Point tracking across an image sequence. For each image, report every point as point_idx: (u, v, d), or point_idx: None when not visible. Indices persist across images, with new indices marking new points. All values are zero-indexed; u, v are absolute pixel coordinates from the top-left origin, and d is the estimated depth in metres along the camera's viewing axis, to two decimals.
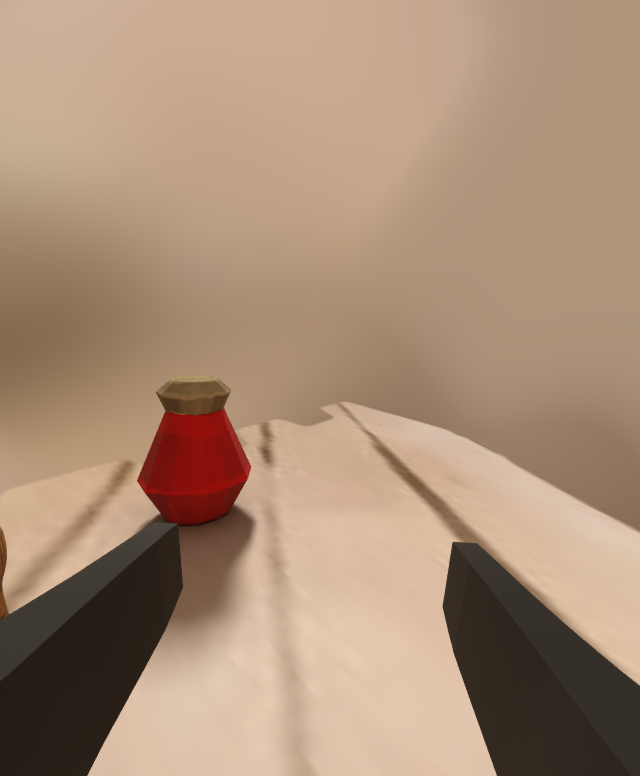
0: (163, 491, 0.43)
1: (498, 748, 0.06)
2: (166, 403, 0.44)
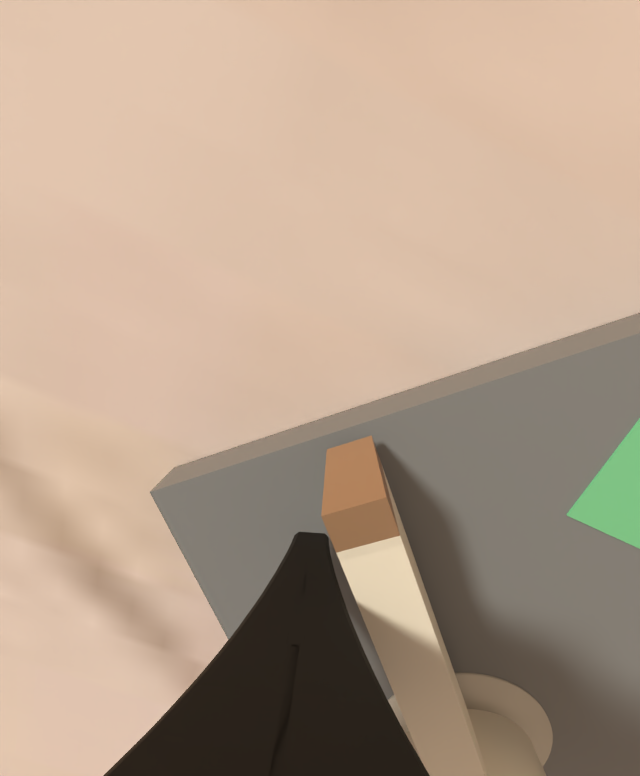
0: None
1: None
2: None
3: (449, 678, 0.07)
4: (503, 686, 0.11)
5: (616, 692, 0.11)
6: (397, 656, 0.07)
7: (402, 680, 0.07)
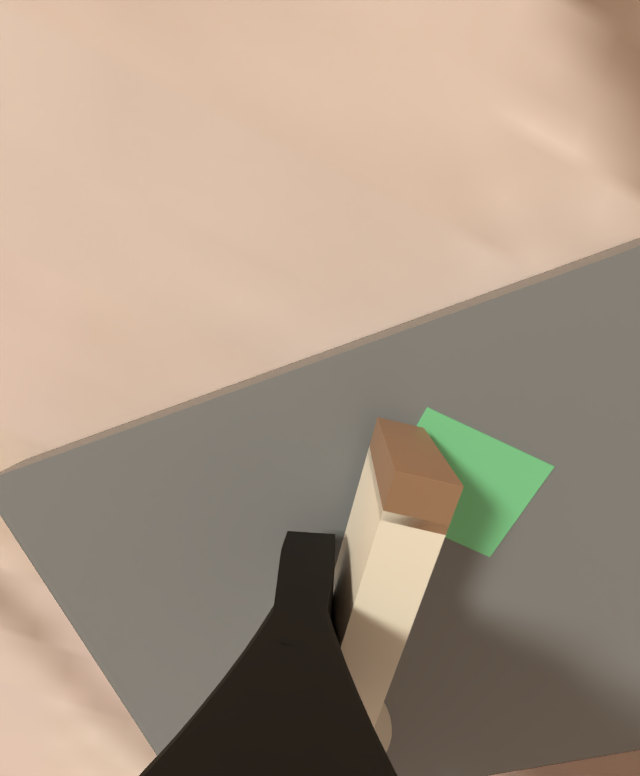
0: None
1: None
2: None
3: (395, 669, 0.07)
4: None
5: (445, 678, 0.11)
6: (365, 629, 0.07)
7: (353, 652, 0.07)
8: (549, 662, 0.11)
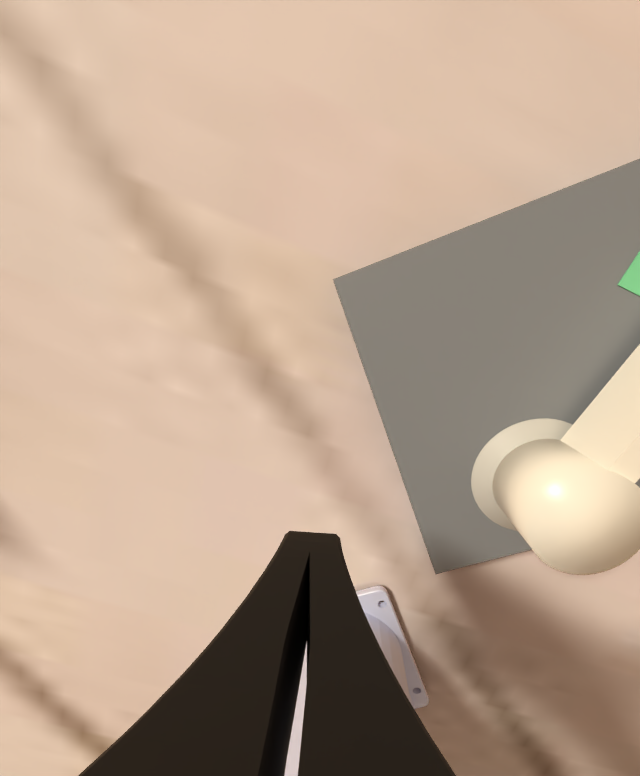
0: None
1: None
2: None
3: None
4: (568, 427, 0.16)
5: None
6: None
7: None
8: None
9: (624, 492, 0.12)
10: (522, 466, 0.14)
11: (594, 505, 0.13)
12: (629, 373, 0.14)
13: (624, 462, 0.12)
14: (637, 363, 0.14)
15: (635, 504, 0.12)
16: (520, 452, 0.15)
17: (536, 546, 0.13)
